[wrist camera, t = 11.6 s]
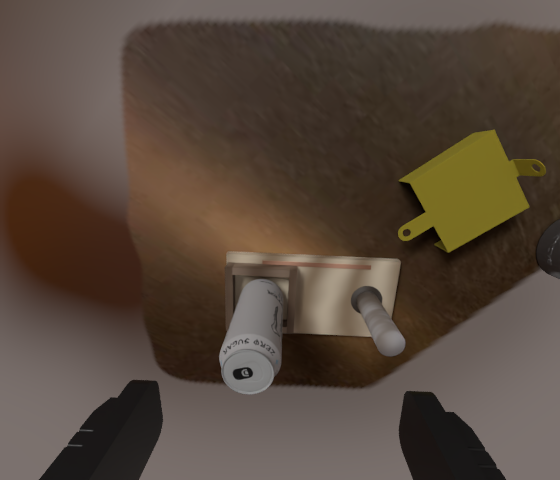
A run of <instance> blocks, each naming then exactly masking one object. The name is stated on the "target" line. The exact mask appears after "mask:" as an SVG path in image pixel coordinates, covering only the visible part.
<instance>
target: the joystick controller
mask: <svg viewBox="0 0 560 480" xmlns="http://www.w3.org/2000/svg"><path fill="white" fill-rule="evenodd" d="M226 256H227V265H226V266H225V302H226V331H228V328H229V326H230V323H231V320H232V317H233V314H234V312H235V309H236V306H237V303H238V300H239V298H240V295H241V292H242V290H243V288H244V287H245V285H247V284H248V283H249V282H251V281H253V280H256V279H266V280H270V281H272V282H274V283H275V284H277V285H278V286H279V288H280V289H281V291H282V293H283V324H282V333H285V334H294V333H306V334H326V335H346V336H366V337H372V338H373V340H374V342H375V344H376V346H377V348H378V350H379V352H380V353H381V354H383V355H385V356H395V355H398V354H400V353H401V352H402V351H403V350H404V348H405V339H404V338H403V336H402V335H401V333H400V331H399V330H398V328H397V327H396V325H395V324H394V322H393V321H392V313H393V307H394V301H395V295H396V289H397V283H398V277H399V271H400V265H401V261H399V260H398V259H388V258H366V257H344V256H321V255H299V254H277V253H255V252H232V251H228V252H227V254H226Z"/></svg>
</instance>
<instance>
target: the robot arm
mask: <svg viewBox="0 0 560 480" xmlns="http://www.w3.org/2000/svg"><path fill="white" fill-rule="evenodd" d="M536 254H537V261H538V264H539V265H540V267H541V269H542V270H544V271H545V272H546V273H548V274H549V275H551V276H554V277H556V278H558V279H560V219H559V220H557V221H556V222H555V223H553V224H552V225H551V226H550V227H549V228H548V229H547V230H546V231H545V232H544V234H543V235H542V237H541V238H540V241H539V243H538V246H537V251H536ZM162 422H163V415H162V408H161V400H160V394H159V386H158V383H157V381H148V380H145V381H144V380H132V381H130V382H129V383H128V384H127V386H126V387H125V388H124V390H123V391H122V393H121V394H120V395H119V396H118V398H110V399H109V400H107V401H106V402H105V403H103V404H102V405H101V406H100V407H98V408H97V409H96V410H95V411H94V412H93V413H92V414H91V415H90V416H89V418H88V419H87V420H86V421H85V423H84V424H83V425H82V426H81V428H80V430H79V432H77V433H76V434H75V435H74V436H73V438H72V439H71V440H70V442H69V443H68V446H67V447H65V448H64V449H63V450H62V452H61V453H60V454H59V455H58V457H57V458H56V459H55V460H54V462H53V463H52V464H51V465H50V467H49V468H48V469H47V470H46V472H45V473H44V474H43V475H42V477H41V478H40V479H39V480H139V478H140V476H141V474H142V472H143V470H144V468H145V466H146V463H147V461H148V459H149V457H150V455H151V453H152V451H153V449H154V447H155V445H156V443H157V441H158V438H159V435H160V433H161V428H162ZM399 438H400V444H401V448H402V451H403V454H404V457H405V459H406V462H407V465H408V467H409V470H410V472H411V475H412V478H413V480H506V479H505V477H504V476H503V474H502V473H501V471H500V470H499V469H497V467H496V464H495V462H494V461H493V460H492V458H491V456H490V455H489V453H488V452H486V451H485V447H484V446H483V445H482V443H481V442H480V440H479V439H478V437H477V436H476V434H475V433H474V431H473V430H472V428H471V427H469V426H468V425H467V424H466V423H465V422H464V421H463V420H462V419H461V418H460V417H458V416H457V415H456V414H455V413H454V412H445V410H444V409H443V407H442V405H441V404H440V402H439V401H438V399H437V397H436V396H435V395H434V394H433V393H432V392H415V391H407V392H406V393H405V394H404V400H403V406H402V412H401V419H400V425H399Z"/></svg>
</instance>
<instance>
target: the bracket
mask: <svg viewBox="0 0 560 480" xmlns="http://www.w3.org/2000/svg"><path fill="white" fill-rule="evenodd" d="M532 164H537V165H538V166H539V167H540V169H541V170H540V172H537V171H535V170H534V169H533V168H532ZM545 173H546V169H545V167H544V165H543V164H542V163H541V162H540V161H538V160H535V159H513V160H511V161H510V162H509V161H508V159H507V156H506V154H505V152H504V150H503V148H502V145H501V143H500V141H499V139H498V137H497V135H496V132H495V130H490V131H483V132H477V133H473V134H471V135H470V136H468V137H466V138H465V139H463V140H462V141H460V142H459V143H457V144H455V145H454V146H452V147H451V148H449V149H448V150H446V151H444V152H443V153H441V154H440V155H438V156H437V157H435V158H433V159H432V160H430V161H429V162H427V163H426V164H424V165H422V166H421V167H419V168H418V169H416V170H415V171H413V172H411V173H410V174H408V175H407V176H405V177H404V178H402V179H400V180H399V181H400V182H405V183H410V185H411V186H412V188H413V190H414V192H415V194H416V195H417V197H418V199H419V201H420V203H421V204H422V206H423V208H424V210H425V213H423V214H422V215H420V216H418V217H417V218H415V219H413V220H412V221H410V222H408V223H407V224H405V225H403V226H402V227H401V228H400V229H399V231H398V236H399V238H400V239H401V240H403V241H408V240H411V239H412V238H414V237H416V236H417V235H419V234H421V233H423V232H424V231H426V230H428V229H429V228H431V227H433V226H434V228H435V230H436V232H437V233H438V235H439V237H440V239H441V240H440V241H439V242H437V243H435V244H434V245H435V246H437V247H439V248H441V249H442V250H444V251H446V252H448V253H449V252H451V251H453V250H454V249H456V248H458V247H460V246H461V245H463V244H465V243H467V242H468V241H470V240H472V239H474V238H476V237H477V236H479V235H481V234H483V233H484V232H486V231H488V230H490V229H492V228H493V227H495V226H497V225H499V224H500V223H502V222H504V221H506V220H507V219H509V218H511V217H513V216H515V215H516V214H518V213H520V212H522V211H523V210H525V209H527V208H529V205H528V203H527V200H526V198H525V196H524V194H523V192H522V189H521V187H520V185H519V183H518V181H517V178H516V177H518V176H519V175H526V176H543V175H545ZM405 229H409V230H410V231H411V234H410V235H409V236H407V237H405V236H403V234H402V233H403V231H404V230H405Z"/></svg>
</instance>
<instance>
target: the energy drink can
mask: <svg viewBox="0 0 560 480" xmlns="http://www.w3.org/2000/svg"><path fill="white" fill-rule="evenodd" d="M282 324H283V293H282V291H281V289H280V288H279V286H278V285H277V284H275V283H274V282H272V281H270V280H266V279H256V280H253V281H251V282H249V283H248V284H247V285H245V287H244V288H243V290H242V292H241V295H240V298H239V300H238V303H237V306H236V309H235V312H234V314H233V317H232V320H231V323H230V326H229V328H228V331H227V334H226V337H225V340H224V343H223V345H222V348H221V351H220V356H219V358H220V364H221V368H222V377H223V379H224V381H225V383H226V384H227V385H228V386H229V387H230V388H231V389H233V390H234V391H236V392H239V393H243V394H256V393H260V392H262V391H264V390H265V389H267V388H268V387H269V386H270V385H271V383H272V381H273V378H274V377H275V375H276V374H277V373H278V371H279V369H280V366H281V351H282Z"/></svg>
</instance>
